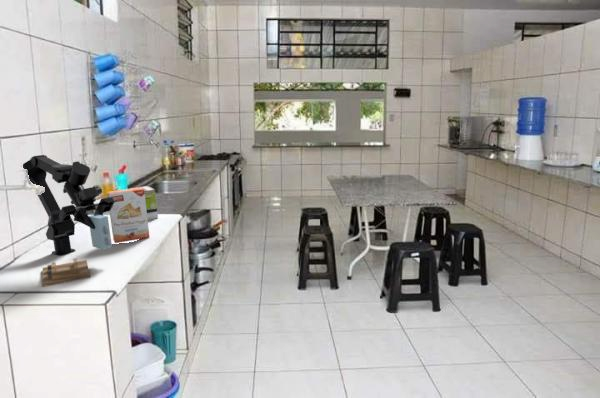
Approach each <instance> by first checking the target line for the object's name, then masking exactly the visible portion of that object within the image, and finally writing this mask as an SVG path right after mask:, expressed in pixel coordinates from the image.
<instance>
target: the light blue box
mask: <svg viewBox="0 0 600 398" xmlns="http://www.w3.org/2000/svg"><path fill="white" fill-rule="evenodd" d="M88 216H89V218H90V219H91V221H92V222H93V224H94V226H95V229H92V228H90V227H89V231H90V238H91V244H92V245H91V246H92V247H94V248H97V249H100V250H107V249H109V248H112V247H113V245H112V244H113V243H112V238H111V231H110V230H111V229H110V224H109V223H110V221H109V216H107V215H104V214H103V215H97V214H96V215H94V214H91V215H88Z"/></svg>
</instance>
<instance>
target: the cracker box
mask: <svg viewBox="0 0 600 398" xmlns="http://www.w3.org/2000/svg"><path fill="white" fill-rule="evenodd" d="M134 188H135V189H130V188H126V189H120V190H112V191H107V192H106V195H107V197H112V198H113V199H114V201H115V202H114V204H113V206H112V209H111V210H110V211H109V218H110V224H111V225H110V226H111V233H112V240H113V242H114V244H117V243H118V244H120V243H125V242H129V241H135V240H136V241H137V240H143V239H148V238H150V230H149V220H148V219H147V211H146V202H145V194H144V189H142V188H137V187H134Z"/></svg>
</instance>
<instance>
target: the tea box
mask: <svg viewBox="0 0 600 398" xmlns="http://www.w3.org/2000/svg"><path fill="white" fill-rule="evenodd" d="M135 188H142V189H144V194H145V202H146V211H147V219H148V221H150V220H155V219H158V218H159V215H158V214H159V213H158V206H157V205H158V204H157V195H156V194H157V193H156V189H155V188H153V187H151V186H148V185H147V186H146V185H145V186H139V187H138V186H137V187H130V188H129V189H135Z"/></svg>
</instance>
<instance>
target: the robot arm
mask: <svg viewBox="0 0 600 398" xmlns="http://www.w3.org/2000/svg"><path fill="white" fill-rule="evenodd" d="M22 165H23V168H24V169H27V170H28V175H29V179H30V181H31V182H32V183H33V184H36V185H40V186H43V187H45V192H44V193H42V194H41V195H37V197H38V199H39V201H40V202H41V205H42V206H43V208H44V211H45V212H46V214H47V216H48V220H47V226H48V227H47V230H46V231H45V236H46V238H47V240H51V241H53V247H54V251H51V252H52V253H51V254H53V253H54V254H53V255H56V254H57V256H62V255H65V254H69V253H72V252H76V249H74V248H72V246H71V240H70V236H74V235H75V225H76V224H75V222H79V223H80V224H83V225H84V226H87V227H89V229H90V228H92V229H95V226H94V224H93V222H92V221H91V219H90V218H89V216H90V215H89V214H88V212H93V215H96V214H97V215H103V216H104V214H105V213H107V212H110V210H111V209H112V206H113V204H114V202H115V201H114V199H113V198H112V197H108V196H107V197H103V198H100V200H99V202H96V201H97V199H96V198H97V197H99V196H100V195H101V194H103V189H102V187H101V186H100V185H99V184H96V185H93V186H92V187H87V188H85V187H84V185H85V184H86V182H87V180H88V178H89V176H90V173H91V168H90V167H89V166H88V165H86V164H84V163H82V162H80V161H73V162H72V164H65V163H63V164H61V163H58V162H57V161H55V160H53V159H51V158H50V157H48V156H47V155H45V154H41V155H33V156H31V158H30V159H28V160H27V161H26V162H24V163H23V164H22ZM48 174H50V175H51V176H52V178H51V179H52V180H54V182H56V183H57V184H62V183H64V185H63V189H62V192H63V194H66V193H67V195H68V197H69V199H70V200H71V201H70V205H66V206H61V207H60V206H59V204H58V202H57V200H56V198H55V196H54V194H53V192H52V191H51V188H50V187H49V184H48V183H47V181H46V178H47V175H48ZM94 202H96V203H94ZM72 216H73V218H72Z"/></svg>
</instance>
